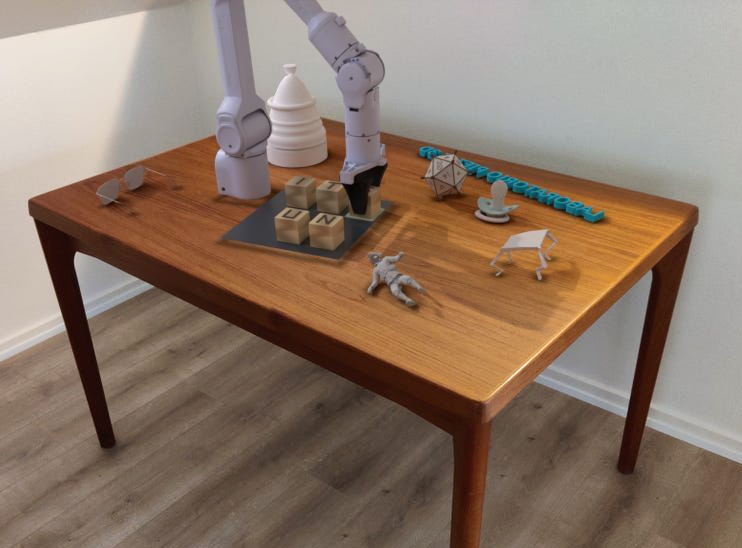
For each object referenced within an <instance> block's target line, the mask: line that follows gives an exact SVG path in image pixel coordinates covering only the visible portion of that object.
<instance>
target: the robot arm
mask: <svg viewBox="0 0 742 548" xmlns="http://www.w3.org/2000/svg"><path fill="white" fill-rule="evenodd" d="M283 1H284V3H285V4H286V5H287V6H288V7H289V8H290V9H291V10H292V11H293V13H295V14H296V16H297V17H298V18H299V19H300V20H301V21H302V22H303V23H304V24H305V25H306V26H307V38H308V41H309V42H310V43H311V44H312V45H313V47H314V48H315V49H316V51H318V53H319V54H320V55H321V57H323V59H324V60H325V61H326V63H327V64H328V65H329V66H330V68H332V70H333V71H334V72H335V73H336V74H337V75H335V82H336V85H337V87H338V90H340V91H339V92H341V94H342V99H343V100H342V103H343V108H344V110H343V111H344V130H345V131H344V133H345V134H344V135H345V136H344V137H345V154H346V155H345V158H344V162H343V166H342V169H341V170H340V171H339V175H338V182H340V183H341V184H342V185H343V187H344V189H345V190H346V192H347V195H348V197H349V200H350V203H351V207H352V210H353V213H354V214H359V215H365V214H366V210H367V202H368V193H369V189H370V186H375V187H380V188H381V183H382V180H383V177H384V175H385V173H386V171H387V169H388V165H389V163H388V160H387V158H386V157H384V156H385V155H386V144H385V143H381V115H380V114H381V113H380V112H381V111H380V108H381V107H380V106H381V105H380V87H379V85H381V83H382V82H383V81H384V78H385V74H386V67H385V63H384V61H383V59H382V58H381V56H380V54H379V52H377V51H376V50H373V49H369V48H367V47H366V46H365V44H364V43H363V42H360V41H359V40H358V38H357V37H356V36H355V35H354V34H353V32H352V31H351V30H350V28H349V27H347V25H346V24H347V20H346V19H345V17H344V16H343V15H338V14H337V13H336V12H333V11H326V10H324V8H323V7H322V6H321V4H320V3H319V2H318V0H283ZM209 5H210V6H209V7H210V14H211V20H212V25H213V33H214V39H215V45H216V51H217V57H218V64H219V70H220V77H221V83H222V89H223V96H224V98H223V100H222V102H221V103H220V105H219V107H218V109H217V111H216V118H217V119H216V120H217V125H216V127H215V139H216V142H217V144H218V146H219V148H220V149H219V150H218V151H217V152H216V155H215V158H214V159H215V160H214V170H215V171H214V172H215V175H216V176H215V177H216V184H217V191H218V194H219V195H223V196H229V197H233V198H237V199H240V200H245V201H246V200H247V201H248V200H249V201H250V200H258V199H262V198H265V197H267V196H269V195H270V194H271V193H272V187H271V186H272V185H271V176H270V167H269V161H268V157H267V147H266V146H268V142H267V139H268V138H269V137H270V136H271V134H272V128H273V127H272V121H271V119H270V117H269V113H268V111H267V106H266V101H265V100H264V99H263V98H262V97H260V96H259V95H258V94H257V91H256V85H255V76H254V69H253V60H252V55H251V45H250V39H249V30H248V23H247V17H246V7H245V1H244V0H209Z"/></svg>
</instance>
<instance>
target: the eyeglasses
mask: <svg viewBox="0 0 742 548" xmlns="http://www.w3.org/2000/svg"><path fill="white" fill-rule="evenodd" d="M145 170H148V171H150V172H153V173H156V174H159V175H161V176H164V177H166V178H168V179H170V180H171V181H172V183H174V185H175V187H176V189H178V188H179V187H178V185H177V184H176V182H175V180H174V179H173V178H172V177H171V176H168V175H165V174H163V173H160V172H157V171H155V170H153V169H150V168H148V167H145V166H144V165H138V166H135V167H134V168H131V169H129V170H128V171H126V173H125V174H124V177H122V178H121V179H118V178H113V179H110V180H108V181H106V182H104V183H103V184H102V185H100V186H99V187H98V188H97V191H96V192H95V194H96V195H97V196H98V197H99V200H100V203H101V204H102V205H109V204H110V203H112V202H115V203H117V204H120V205H123V206H125V207H126V208H127V209H128V210H129V212H130V213H131V214H132V215H134V213H133V211H132V210H131V209H130V208H129V206H127V205H126V204H125V203H122V202H119V201H117V200H116V199H117V198H118V197H119V195H120V192H122V187H123V186H122V184H121V183H120V182H121V181H122V180H124V183H125V186H126V188H127V189H128V190H129V191H132V190H135V189H137V188H139V187H141V185H143V184H144V180H145Z"/></svg>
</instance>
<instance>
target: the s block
mask: <svg viewBox="0 0 742 548" xmlns="http://www.w3.org/2000/svg"><path fill="white" fill-rule="evenodd" d="M381 194H382V193H381V186H380V187H375V186H370V189H369V193H368V202H367V210H366V214H365V215H359V214H354V213H353V210H352V207H351V203H350V200H349V213H350V216H356V217H362V218H368V219H372V218H373V217H374V216H375V215H376V214H377V213H378V212H379V211H380V210H381V200H382V199H381Z"/></svg>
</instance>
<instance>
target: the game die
mask: <svg viewBox="0 0 742 548" xmlns="http://www.w3.org/2000/svg"><path fill="white" fill-rule="evenodd" d="M457 153H458V149H455V150H454V151H453V153H448V154H449V155H446V154H442V156H435V157H434V156H433V154H431V153H430V156H431V157H432V160H431V159H430V163H429V165H428V167H427V169H426V172H425V174H424V176H421V177H420V178H419V180H425V182H426V183H427V185H428V186H429V187H430V188H431V190H432V191H433V193H434V194H435V197H434V200H435V201H437V200H438V199H439V197H441V196H448V195H456V194H458V196H459V197H462V196H463V195H462V192H461V190H462V188H463V186H464V183H465V182H466V179H467V176H468V175H469V174H468V173H472V172H473V171H470V170H469V171H468V170H467V169H466V168H465V166H464V165H463V164H462V162H461V161H460V160H461V159H460V158H459V156H457ZM472 174H473V173H472Z"/></svg>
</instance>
